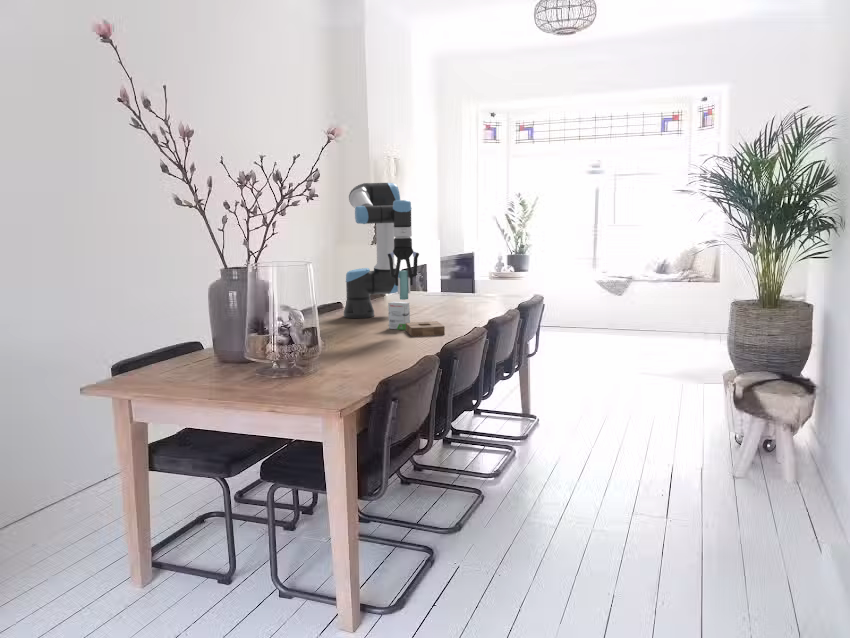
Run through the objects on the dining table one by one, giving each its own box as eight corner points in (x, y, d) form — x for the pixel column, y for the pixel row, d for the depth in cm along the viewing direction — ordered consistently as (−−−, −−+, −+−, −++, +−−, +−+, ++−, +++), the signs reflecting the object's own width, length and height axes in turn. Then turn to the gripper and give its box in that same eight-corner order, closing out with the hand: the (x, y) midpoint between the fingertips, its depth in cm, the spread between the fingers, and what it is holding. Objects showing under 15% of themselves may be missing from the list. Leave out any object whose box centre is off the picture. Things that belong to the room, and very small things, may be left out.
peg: (399, 298, 300) (398, 270, 298) (407, 298, 301) (407, 270, 299) (400, 299, 297) (399, 271, 295) (408, 299, 297) (408, 271, 296)
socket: (405, 330, 307) (405, 322, 306) (437, 329, 309) (437, 321, 309) (411, 336, 293) (411, 328, 292) (444, 334, 296) (444, 326, 295)
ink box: (410, 328, 312) (410, 302, 310) (405, 330, 308) (404, 303, 306) (394, 327, 317) (393, 301, 315) (388, 328, 312) (387, 302, 310)
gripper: (384, 238, 290) (385, 295, 293) (423, 237, 293) (424, 293, 296) (382, 237, 297) (383, 293, 301) (420, 236, 300) (421, 291, 303)
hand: (404, 293), depth 298 cm, fingers closed on peg, 3 cm apart
